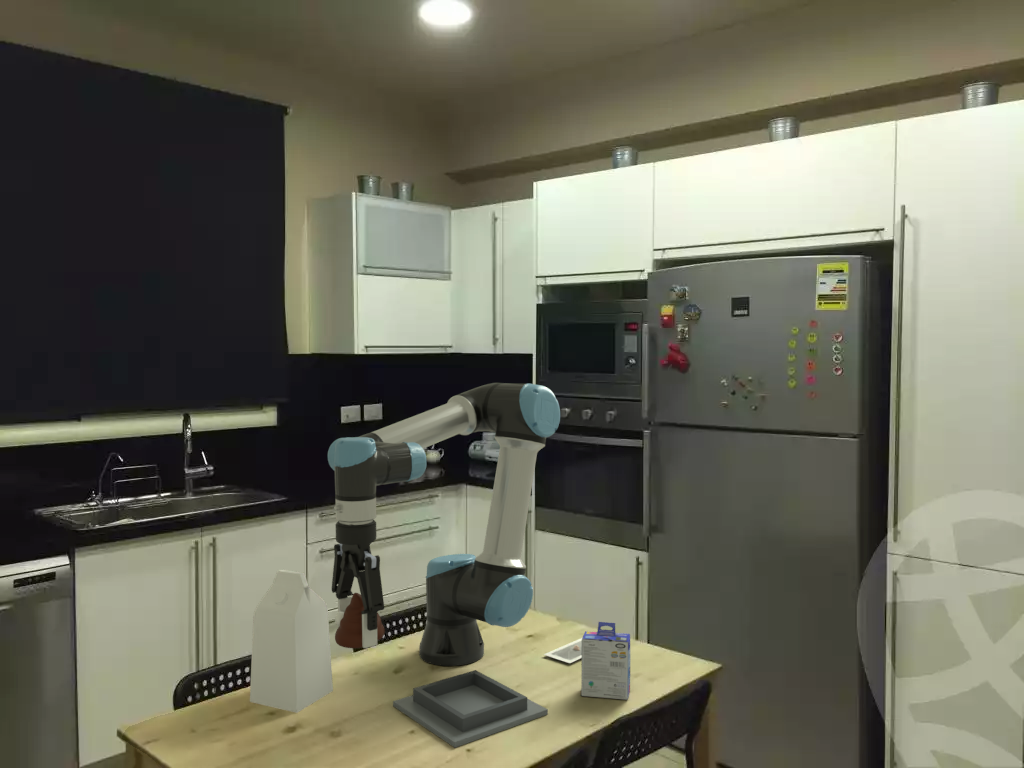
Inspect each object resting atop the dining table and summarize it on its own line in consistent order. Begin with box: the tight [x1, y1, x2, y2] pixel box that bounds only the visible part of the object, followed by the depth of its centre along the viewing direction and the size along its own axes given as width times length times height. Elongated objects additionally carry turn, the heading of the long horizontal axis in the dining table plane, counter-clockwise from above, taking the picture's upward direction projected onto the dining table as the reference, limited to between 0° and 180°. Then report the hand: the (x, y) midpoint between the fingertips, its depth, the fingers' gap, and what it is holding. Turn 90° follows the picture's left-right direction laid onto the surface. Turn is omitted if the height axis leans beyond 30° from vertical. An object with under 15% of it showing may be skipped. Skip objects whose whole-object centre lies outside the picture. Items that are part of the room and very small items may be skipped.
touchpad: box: [543, 637, 583, 664], centre depth 196 cm, size 8×15×2 cm, turn 138°
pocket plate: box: [392, 669, 549, 748], centre depth 165 cm, size 22×22×4 cm
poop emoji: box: [334, 592, 386, 649], centre depth 157 cm, size 10×8×9 cm
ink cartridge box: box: [580, 621, 631, 700], centre depth 172 cm, size 10×6×14 cm, turn 78°
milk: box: [249, 568, 334, 714], centre depth 171 cm, size 12×12×26 cm
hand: (357, 638), depth 157 cm, fingers closed on poop emoji, 9 cm apart
